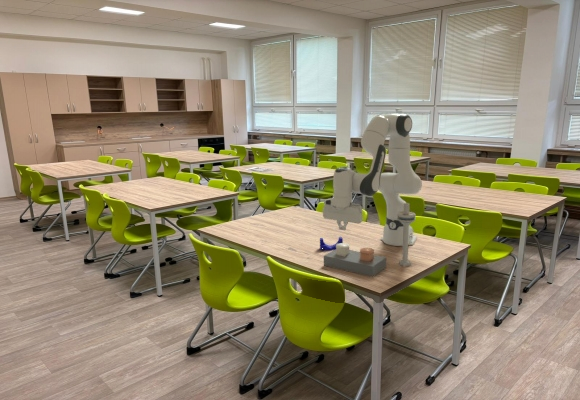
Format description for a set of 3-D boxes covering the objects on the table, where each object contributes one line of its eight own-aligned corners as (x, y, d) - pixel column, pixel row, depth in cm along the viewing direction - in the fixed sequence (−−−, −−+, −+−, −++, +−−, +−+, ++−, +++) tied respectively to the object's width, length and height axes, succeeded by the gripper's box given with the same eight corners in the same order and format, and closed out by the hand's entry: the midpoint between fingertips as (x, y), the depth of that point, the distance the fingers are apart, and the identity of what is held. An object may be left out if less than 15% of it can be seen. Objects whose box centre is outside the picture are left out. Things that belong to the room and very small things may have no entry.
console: (338, 257, 211) (338, 247, 210) (386, 267, 195) (386, 257, 194) (323, 265, 200) (323, 255, 199) (372, 277, 184) (372, 266, 183)
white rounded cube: (340, 253, 205) (340, 242, 204) (351, 256, 201) (351, 244, 200) (333, 257, 200) (333, 245, 199) (345, 260, 196) (345, 248, 195)
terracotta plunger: (363, 258, 197) (364, 246, 196) (376, 261, 194) (376, 249, 192) (357, 262, 192) (357, 250, 191) (370, 265, 189) (370, 253, 187)
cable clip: (321, 251, 221) (320, 240, 220) (319, 248, 225) (319, 238, 224) (343, 250, 222) (343, 239, 220) (341, 247, 226) (341, 237, 225)
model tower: (417, 266, 195) (419, 204, 189) (402, 268, 193) (404, 206, 186) (407, 260, 203) (408, 201, 197) (392, 263, 200) (393, 202, 194)
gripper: (365, 202, 191) (365, 231, 194) (327, 198, 203) (328, 225, 206) (359, 205, 186) (358, 234, 189) (321, 200, 198) (321, 228, 201)
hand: (342, 229), depth 198 cm, fingers closed
